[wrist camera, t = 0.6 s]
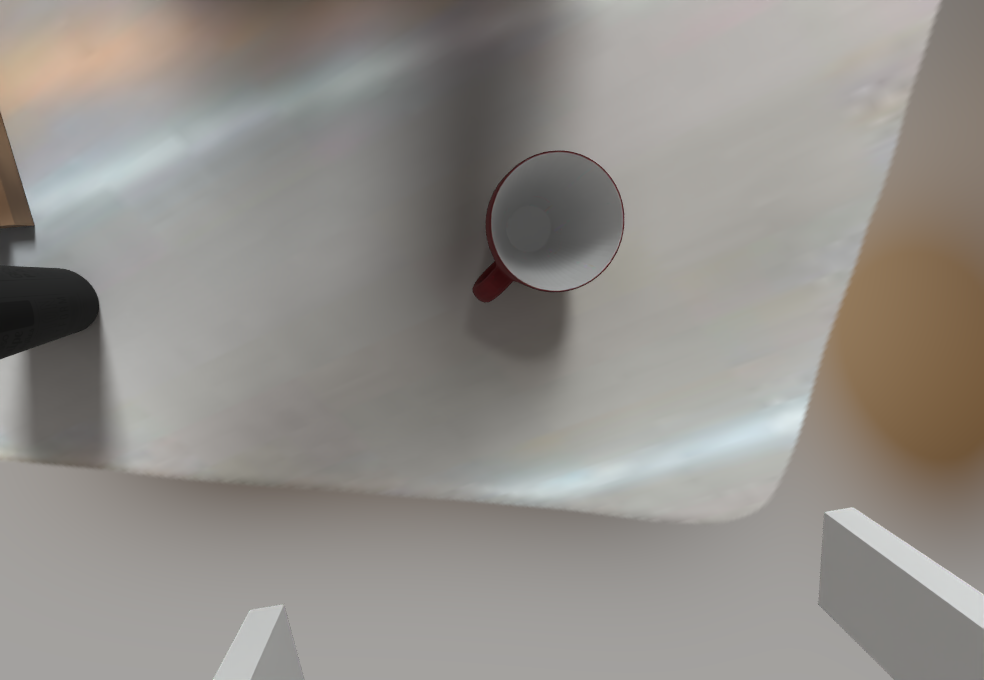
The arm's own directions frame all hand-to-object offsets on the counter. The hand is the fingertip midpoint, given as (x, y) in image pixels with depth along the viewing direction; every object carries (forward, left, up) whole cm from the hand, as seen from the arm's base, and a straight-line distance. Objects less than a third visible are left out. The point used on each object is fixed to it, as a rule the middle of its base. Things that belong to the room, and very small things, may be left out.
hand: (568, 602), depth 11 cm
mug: (-8, +4, -28) cm, 29 cm away
